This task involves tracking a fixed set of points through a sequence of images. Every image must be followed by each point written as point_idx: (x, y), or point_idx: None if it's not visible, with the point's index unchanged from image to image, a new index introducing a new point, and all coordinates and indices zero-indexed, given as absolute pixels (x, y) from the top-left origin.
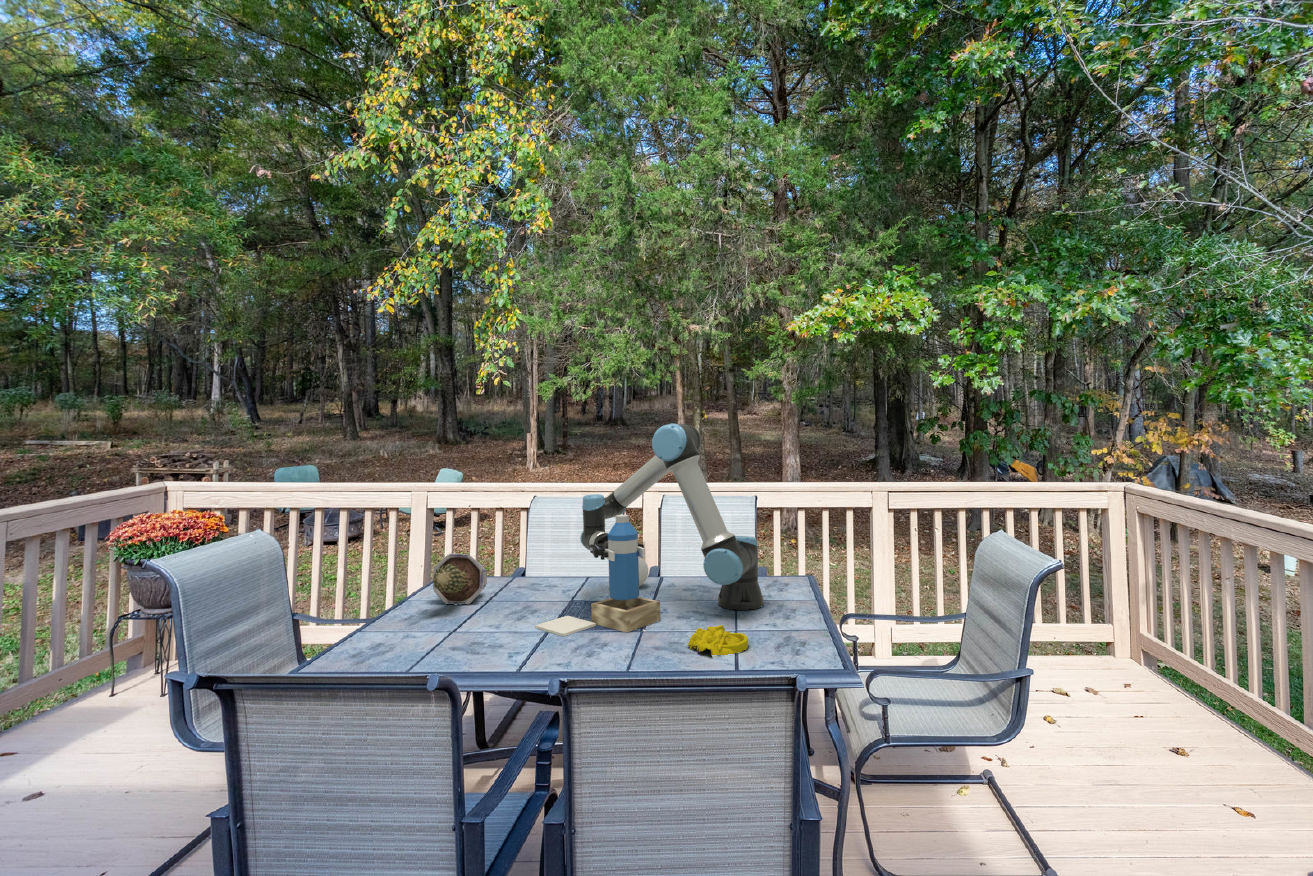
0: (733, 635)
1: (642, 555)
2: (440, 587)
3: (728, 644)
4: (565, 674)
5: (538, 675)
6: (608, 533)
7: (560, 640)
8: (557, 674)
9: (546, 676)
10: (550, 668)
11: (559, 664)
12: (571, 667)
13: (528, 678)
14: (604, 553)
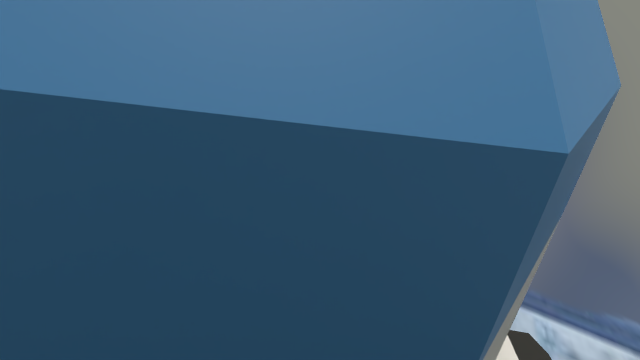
0: None
1: None
2: None
3: None
4: (545, 304)
5: (613, 329)
6: (609, 52)
7: None
8: (565, 313)
9: (590, 316)
10: (592, 346)
11: (572, 355)
12: (535, 326)
13: (633, 327)
14: (539, 354)
